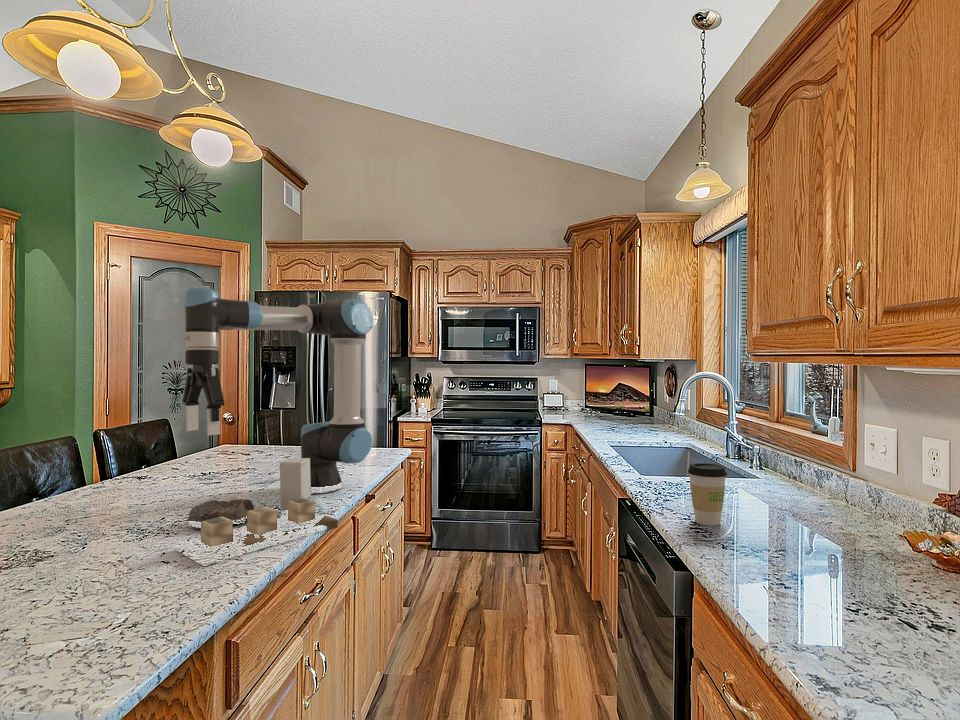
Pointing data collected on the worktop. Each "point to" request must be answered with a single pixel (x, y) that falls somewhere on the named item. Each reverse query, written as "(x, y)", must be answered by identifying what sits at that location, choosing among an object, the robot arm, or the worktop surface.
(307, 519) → the marked block 2
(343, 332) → the robot arm
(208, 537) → the marked block 1
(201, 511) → the rock
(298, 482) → the skincare box
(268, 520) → the plain beech block
